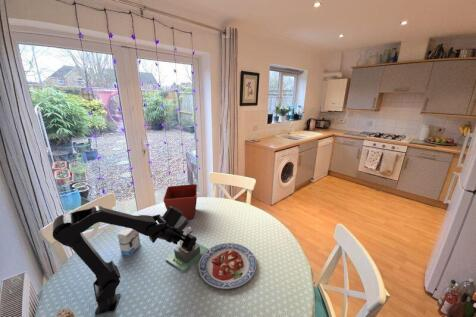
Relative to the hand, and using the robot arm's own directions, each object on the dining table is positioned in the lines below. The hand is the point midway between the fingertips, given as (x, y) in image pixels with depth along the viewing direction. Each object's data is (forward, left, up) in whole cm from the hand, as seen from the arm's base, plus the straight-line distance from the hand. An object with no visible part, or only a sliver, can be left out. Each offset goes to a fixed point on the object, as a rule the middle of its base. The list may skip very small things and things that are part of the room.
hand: (188, 240), depth 98 cm
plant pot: (+36, +5, -8) cm, 37 cm away
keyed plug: (-1, +1, -7) cm, 7 cm away
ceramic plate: (-11, -17, -8) cm, 22 cm away
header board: (-1, +1, -8) cm, 8 cm away
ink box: (+9, +29, -8) cm, 31 cm away
